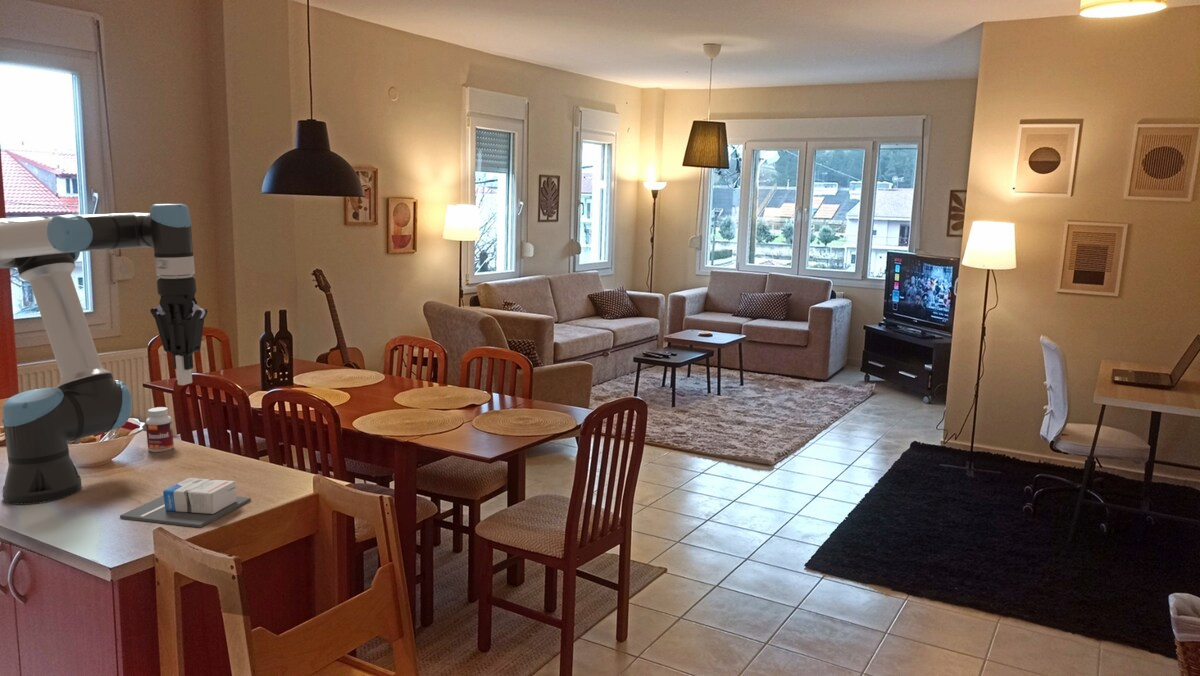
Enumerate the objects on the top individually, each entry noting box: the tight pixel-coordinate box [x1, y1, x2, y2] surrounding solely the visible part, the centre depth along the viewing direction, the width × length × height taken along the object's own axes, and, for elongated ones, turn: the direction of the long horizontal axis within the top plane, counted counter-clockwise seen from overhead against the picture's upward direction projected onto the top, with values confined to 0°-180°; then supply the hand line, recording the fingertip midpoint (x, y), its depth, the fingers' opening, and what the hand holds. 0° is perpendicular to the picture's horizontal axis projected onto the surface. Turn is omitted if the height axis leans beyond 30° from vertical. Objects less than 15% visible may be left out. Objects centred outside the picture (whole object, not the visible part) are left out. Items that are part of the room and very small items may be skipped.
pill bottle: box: [145, 406, 175, 453], centre depth 228 cm, size 6×6×11 cm
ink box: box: [162, 477, 237, 514], centre depth 185 cm, size 9×5×12 cm
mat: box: [119, 494, 252, 528], centre depth 186 cm, size 20×16×1 cm
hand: (185, 383), depth 188 cm, fingers closed
